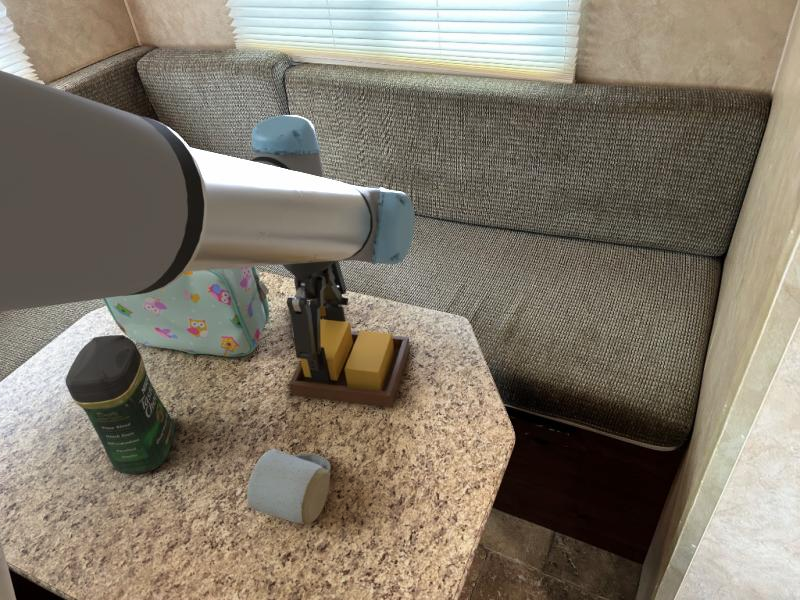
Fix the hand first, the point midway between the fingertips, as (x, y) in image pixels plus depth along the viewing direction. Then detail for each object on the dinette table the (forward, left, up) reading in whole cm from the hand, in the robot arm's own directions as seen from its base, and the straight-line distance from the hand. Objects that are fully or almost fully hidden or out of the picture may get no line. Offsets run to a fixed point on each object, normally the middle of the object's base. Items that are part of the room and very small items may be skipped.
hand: (330, 358), depth 94 cm
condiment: (+11, +7, -3) cm, 13 cm away
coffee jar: (-19, +22, -3) cm, 29 cm away
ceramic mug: (-22, -3, -3) cm, 23 cm away
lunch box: (+4, +25, -3) cm, 25 cm away
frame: (0, -3, -3) cm, 4 cm away
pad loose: (0, 0, 0) cm, 0 cm away
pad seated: (0, -6, -2) cm, 7 cm away
